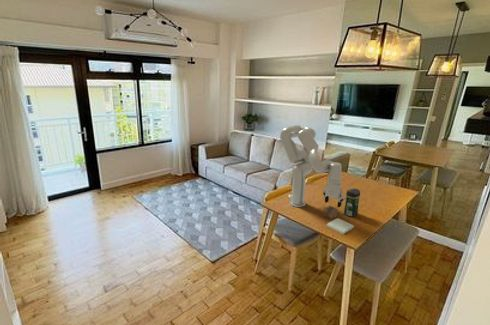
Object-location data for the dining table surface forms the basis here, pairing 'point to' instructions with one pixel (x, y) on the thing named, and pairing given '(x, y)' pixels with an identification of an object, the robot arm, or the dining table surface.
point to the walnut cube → (330, 212)
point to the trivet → (340, 225)
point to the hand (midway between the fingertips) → (332, 204)
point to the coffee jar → (352, 202)
